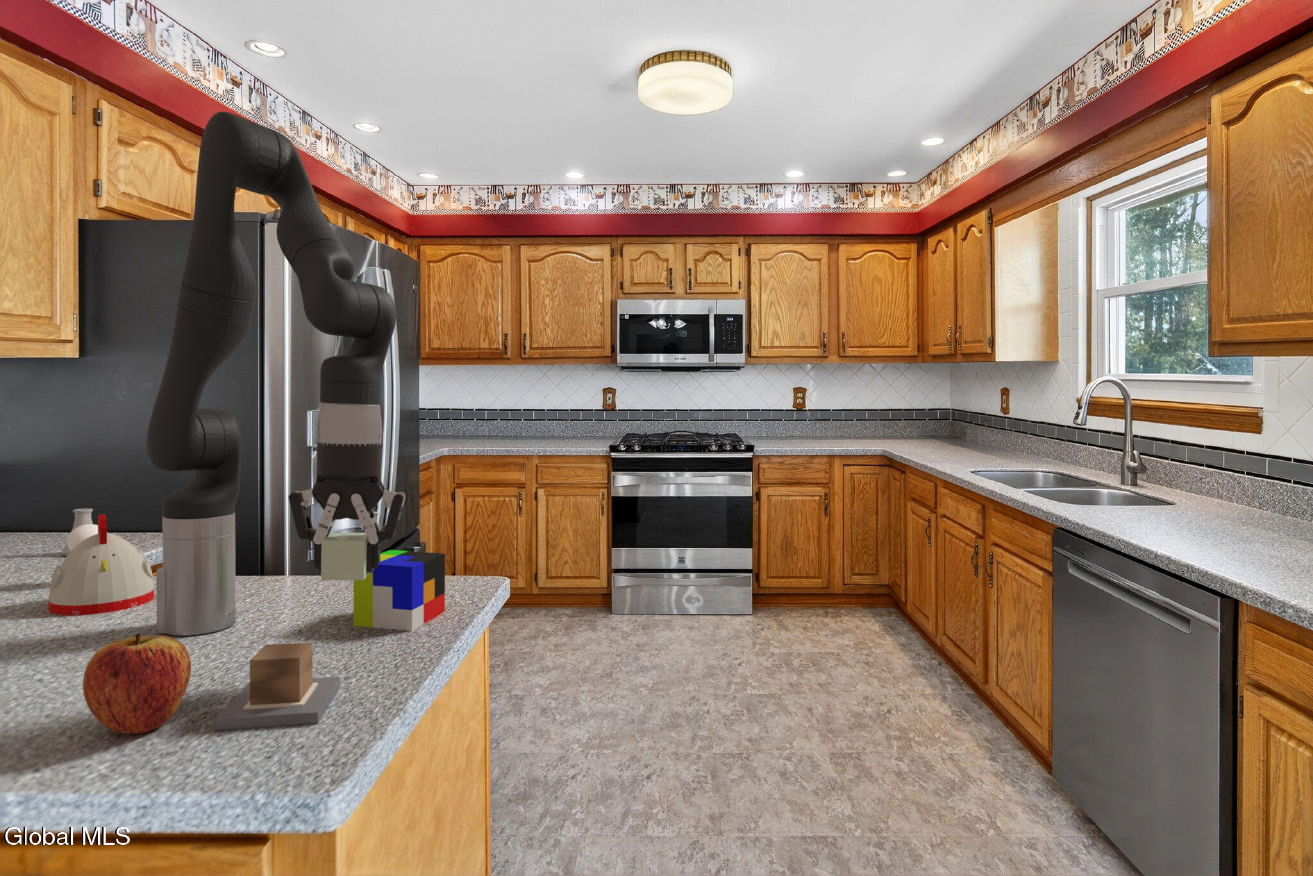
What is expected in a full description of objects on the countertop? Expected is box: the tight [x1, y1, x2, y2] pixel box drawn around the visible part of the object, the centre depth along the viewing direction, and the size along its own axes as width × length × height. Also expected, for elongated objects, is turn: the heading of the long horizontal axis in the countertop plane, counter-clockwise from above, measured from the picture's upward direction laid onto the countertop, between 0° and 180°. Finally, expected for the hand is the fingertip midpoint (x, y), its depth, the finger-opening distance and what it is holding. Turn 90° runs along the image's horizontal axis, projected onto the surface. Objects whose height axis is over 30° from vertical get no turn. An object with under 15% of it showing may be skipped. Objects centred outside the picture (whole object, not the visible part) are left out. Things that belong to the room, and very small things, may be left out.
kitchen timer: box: [48, 514, 155, 616], centre depth 117 cm, size 14×14×15 cm
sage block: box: [320, 532, 369, 582], centre depth 89 cm, size 5×5×5 cm
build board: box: [214, 676, 341, 731], centre depth 79 cm, size 10×10×1 cm
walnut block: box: [249, 642, 313, 705], centre depth 78 cm, size 5×5×5 cm
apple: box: [82, 633, 192, 735], centre depth 73 cm, size 9×9×10 cm
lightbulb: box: [66, 523, 98, 551], centre depth 129 cm, size 6×6×11 cm
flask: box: [60, 508, 94, 557], centre depth 153 cm, size 7×7×10 cm
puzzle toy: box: [353, 549, 446, 632], centre depth 111 cm, size 10×10×10 cm
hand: (347, 571), depth 89 cm, fingers closed on sage block, 5 cm apart
